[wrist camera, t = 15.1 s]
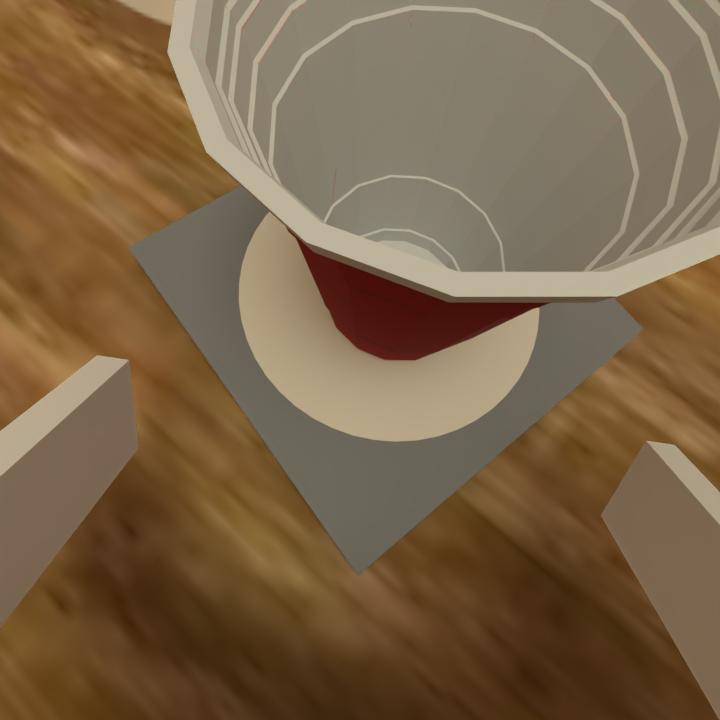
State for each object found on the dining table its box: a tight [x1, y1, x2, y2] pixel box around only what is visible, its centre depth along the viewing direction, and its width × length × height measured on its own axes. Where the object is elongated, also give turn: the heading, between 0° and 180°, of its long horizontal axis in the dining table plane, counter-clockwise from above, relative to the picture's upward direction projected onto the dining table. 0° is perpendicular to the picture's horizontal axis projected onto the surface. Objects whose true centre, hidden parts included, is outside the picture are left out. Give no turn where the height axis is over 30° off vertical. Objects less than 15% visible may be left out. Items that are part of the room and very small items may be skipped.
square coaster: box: [128, 186, 643, 575], centre depth 19 cm, size 16×16×1 cm
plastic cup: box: [167, 0, 720, 360], centre depth 12 cm, size 11×11×12 cm
